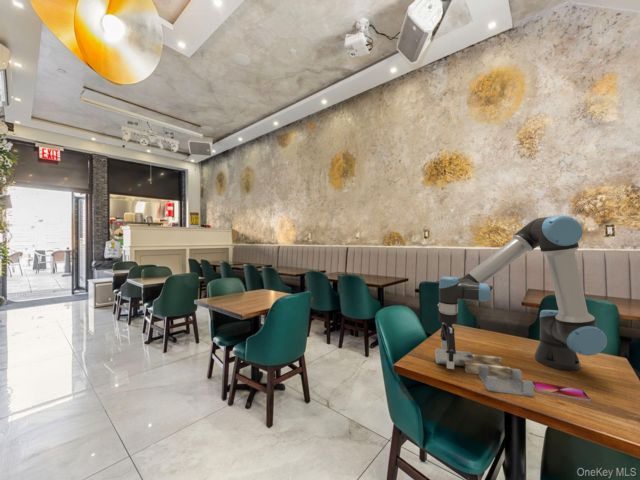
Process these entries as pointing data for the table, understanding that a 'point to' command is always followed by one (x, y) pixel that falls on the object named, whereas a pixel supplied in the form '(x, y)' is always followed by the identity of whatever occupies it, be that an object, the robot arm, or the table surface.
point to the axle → (458, 357)
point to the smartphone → (561, 391)
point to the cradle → (506, 382)
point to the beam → (489, 361)
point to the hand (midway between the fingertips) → (447, 361)
